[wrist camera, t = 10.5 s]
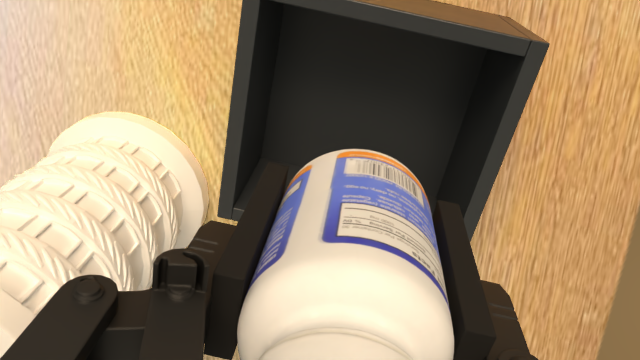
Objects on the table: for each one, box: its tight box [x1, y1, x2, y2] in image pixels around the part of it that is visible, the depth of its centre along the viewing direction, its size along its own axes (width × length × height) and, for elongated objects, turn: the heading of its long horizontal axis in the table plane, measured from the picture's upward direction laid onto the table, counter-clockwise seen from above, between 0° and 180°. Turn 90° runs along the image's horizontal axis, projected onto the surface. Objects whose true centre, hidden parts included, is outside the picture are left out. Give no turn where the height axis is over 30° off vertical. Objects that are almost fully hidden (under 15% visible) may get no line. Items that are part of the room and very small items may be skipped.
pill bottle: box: [237, 149, 454, 360], centre depth 14 cm, size 5×5×10 cm
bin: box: [217, 0, 549, 242], centre depth 28 cm, size 14×13×8 cm
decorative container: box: [0, 111, 209, 358], centre depth 28 cm, size 12×12×18 cm
